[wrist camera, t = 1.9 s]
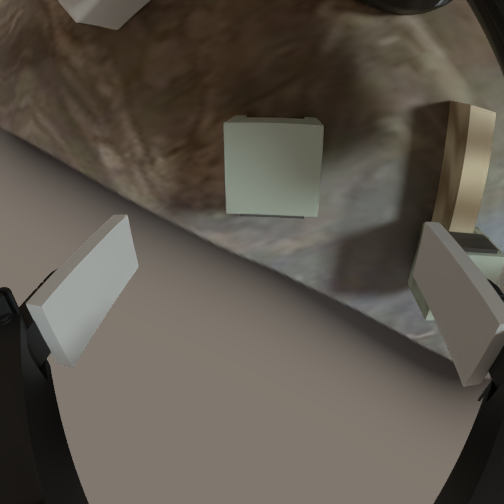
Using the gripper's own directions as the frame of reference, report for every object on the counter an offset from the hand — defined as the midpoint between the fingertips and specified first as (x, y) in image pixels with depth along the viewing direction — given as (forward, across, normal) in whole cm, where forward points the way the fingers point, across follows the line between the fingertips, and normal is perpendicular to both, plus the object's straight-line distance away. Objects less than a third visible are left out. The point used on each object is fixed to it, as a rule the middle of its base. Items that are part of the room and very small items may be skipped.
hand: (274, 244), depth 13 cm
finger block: (+17, 0, 0) cm, 17 cm away
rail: (+17, +17, -3) cm, 24 cm away
